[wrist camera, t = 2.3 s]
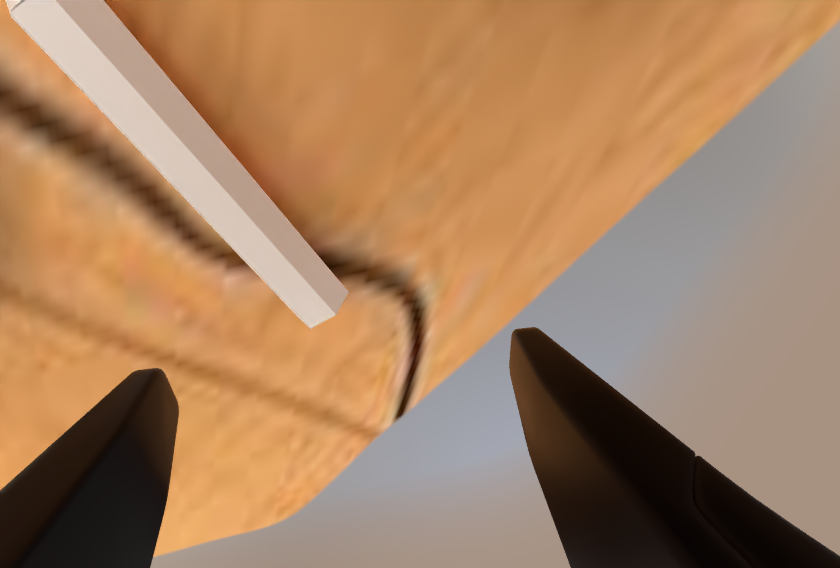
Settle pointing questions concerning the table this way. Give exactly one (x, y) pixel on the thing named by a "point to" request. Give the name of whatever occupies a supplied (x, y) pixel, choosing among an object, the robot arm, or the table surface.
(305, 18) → the table surface
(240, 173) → the beige long bar
